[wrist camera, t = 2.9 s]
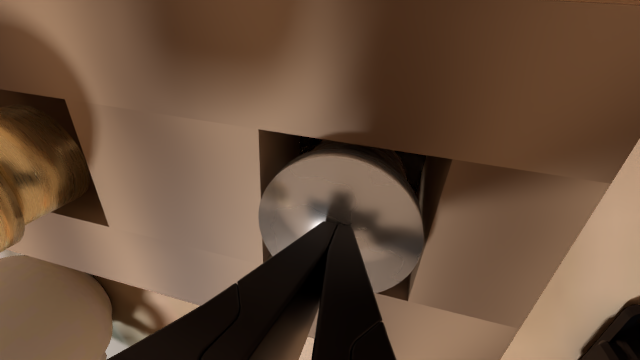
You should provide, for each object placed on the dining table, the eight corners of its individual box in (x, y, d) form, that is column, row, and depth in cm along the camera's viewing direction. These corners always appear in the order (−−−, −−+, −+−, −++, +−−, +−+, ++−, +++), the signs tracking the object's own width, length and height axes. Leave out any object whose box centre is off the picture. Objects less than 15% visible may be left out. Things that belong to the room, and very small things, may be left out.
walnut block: (589, 17, 8) (720, 10, 5) (463, 299, 14) (482, 387, 11) (-27, -21, 13) (-185, -40, 9) (67, 205, 19) (-10, 244, 15)
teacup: (-5, 242, 23) (-177, 332, 16) (76, 222, 19) (-106, 330, 12) (100, 355, 28) (3, 461, 21) (182, 358, 24) (94, 489, 17)
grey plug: (432, 131, 10) (445, 176, 7) (403, 242, 12) (403, 311, 9) (296, 113, 11) (255, 144, 8) (293, 219, 13) (260, 275, 10)
